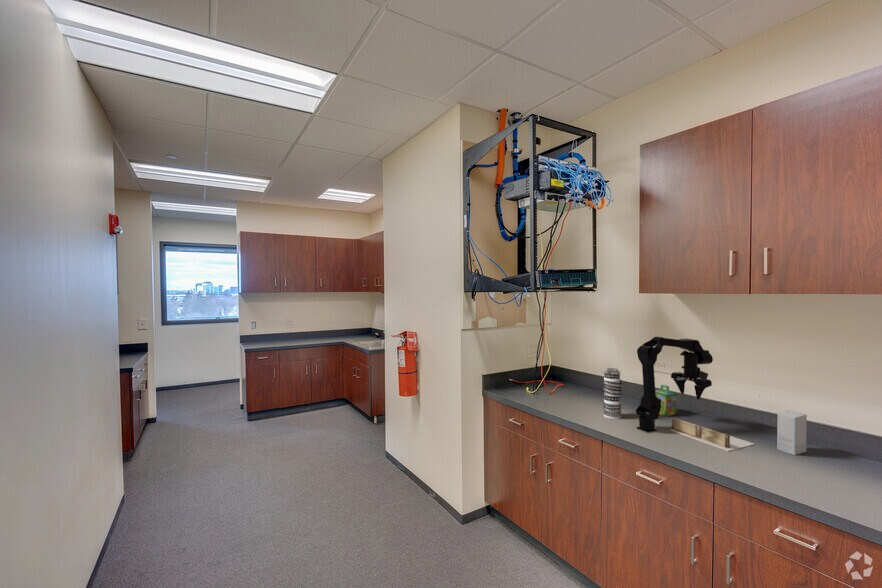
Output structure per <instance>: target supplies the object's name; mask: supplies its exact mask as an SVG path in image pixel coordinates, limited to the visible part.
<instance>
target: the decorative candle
mask: <svg viewBox="0 0 882 588" xmlns="http://www.w3.org/2000/svg"><path fill="white" fill-rule="evenodd" d="M603 372H604V374H603V375H604V376H603V381H602V384H603V385H602V388H603V392H602V393H603V394H604V398H603V403H602V404H603V409H602V410H603V417H604V418H606V419H610V420H620V419H621V418H622V407H621V406H622V403H621V396H622V393H621V392H622V386H621V385H622V383H623V382H622V379H621V371H619V369H617V368H613V367H608V368H605V370H603Z"/></svg>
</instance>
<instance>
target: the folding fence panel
mask: <svg viewBox="0 0 882 588" xmlns="http://www.w3.org/2000/svg"><path fill="white" fill-rule="evenodd" d="M702 427H703V428H701V429H702V439H705V440H708V441H710V442H713V443H716V444H719V445H722V446H725V447H726V448H730V436H731V435H729V434H726V433H723V432H720V431H717V430H714V429H711V428H708V427H705V428H704V426H702ZM707 428H708V429H707ZM710 429H711V430H710ZM713 430H714V431H713ZM716 431H717V432H716Z"/></svg>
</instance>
